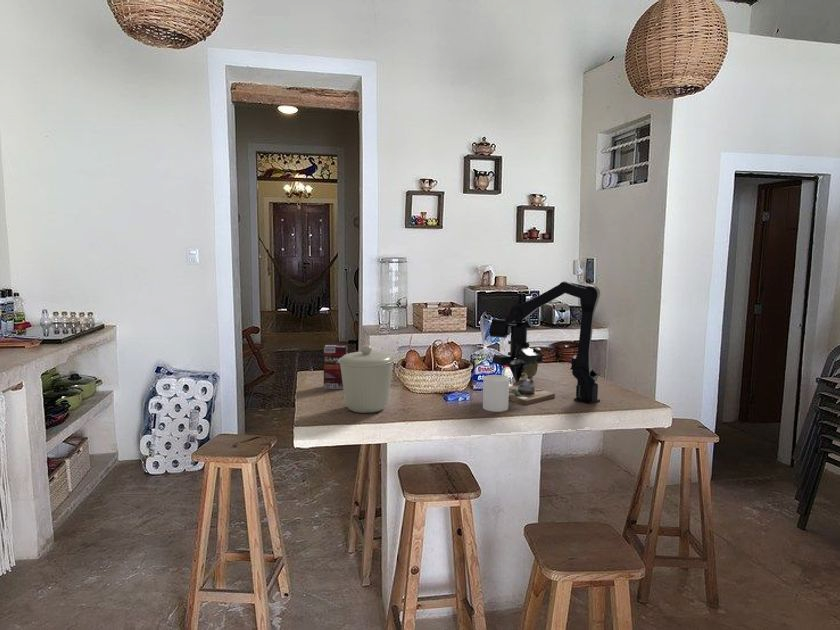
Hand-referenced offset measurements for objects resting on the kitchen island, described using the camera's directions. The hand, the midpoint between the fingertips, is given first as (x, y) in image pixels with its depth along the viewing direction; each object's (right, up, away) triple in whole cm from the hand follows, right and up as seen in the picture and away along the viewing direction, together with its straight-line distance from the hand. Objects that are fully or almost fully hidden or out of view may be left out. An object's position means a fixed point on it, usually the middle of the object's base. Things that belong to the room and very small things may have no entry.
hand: (517, 381), depth 200 cm
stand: (+2, -5, -5) cm, 7 cm away
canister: (-53, -7, -20) cm, 57 cm away
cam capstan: (+2, -3, -3) cm, 5 cm away
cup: (+8, -2, +19) cm, 21 cm away
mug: (-11, -6, -17) cm, 21 cm away
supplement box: (-67, -3, +6) cm, 67 cm away
